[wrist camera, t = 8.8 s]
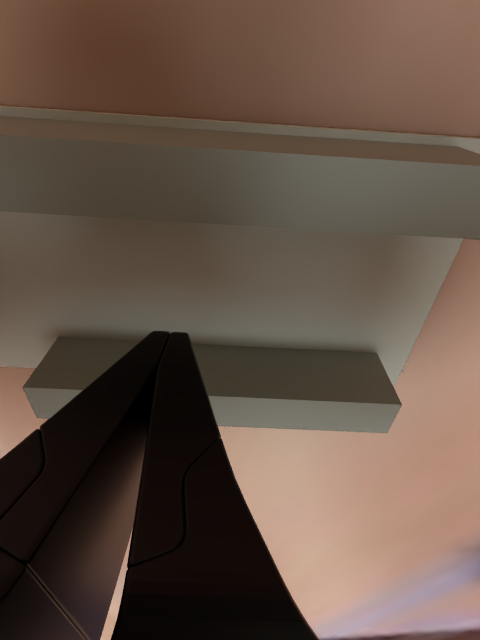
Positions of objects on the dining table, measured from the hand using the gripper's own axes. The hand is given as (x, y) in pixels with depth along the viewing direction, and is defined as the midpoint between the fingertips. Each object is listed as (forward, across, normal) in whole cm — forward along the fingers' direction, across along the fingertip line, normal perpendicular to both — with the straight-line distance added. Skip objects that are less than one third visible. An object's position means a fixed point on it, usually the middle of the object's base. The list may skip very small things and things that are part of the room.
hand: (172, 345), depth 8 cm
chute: (+4, +2, 0) cm, 4 cm away
